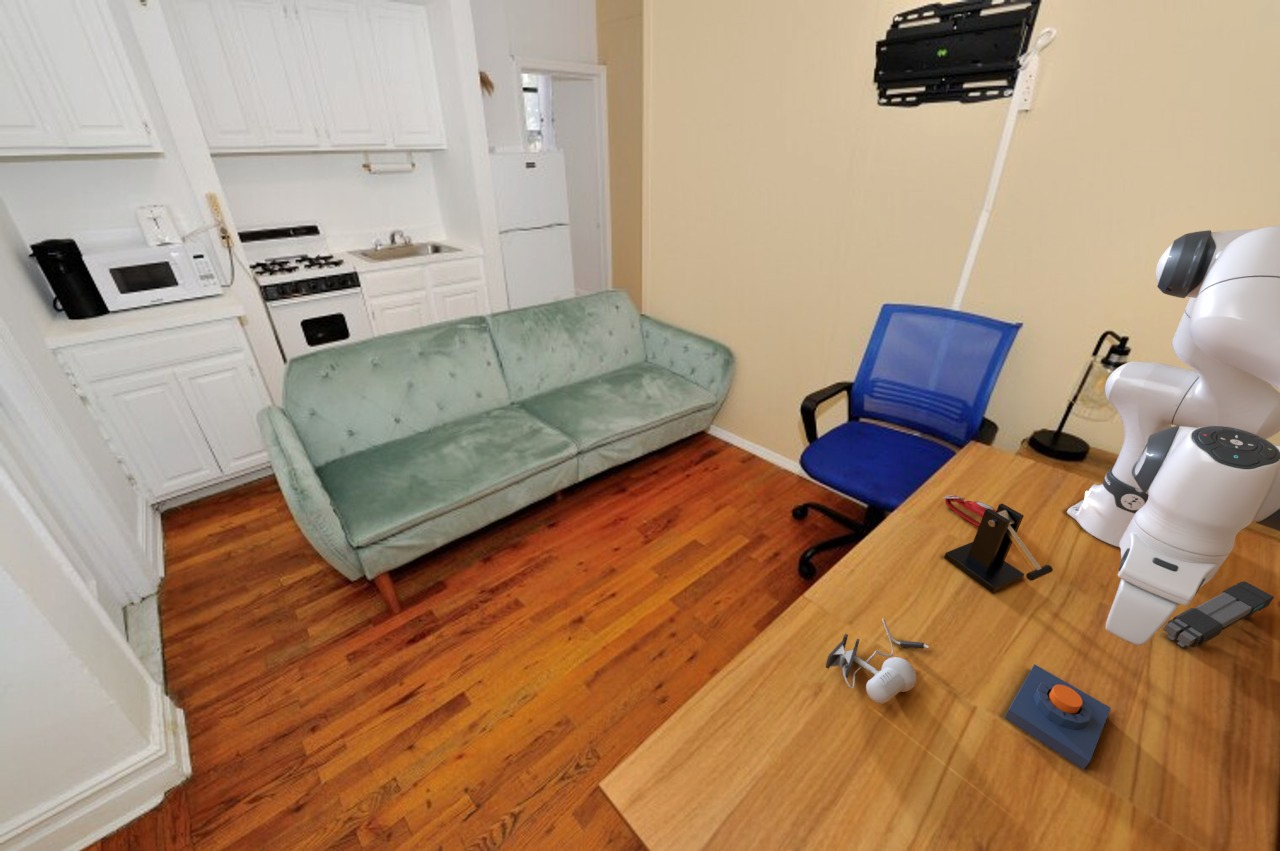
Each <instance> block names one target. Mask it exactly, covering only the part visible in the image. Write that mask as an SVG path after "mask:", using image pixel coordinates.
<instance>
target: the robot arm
mask: <svg viewBox="0 0 1280 851" xmlns="http://www.w3.org/2000/svg"><path fill="white" fill-rule="evenodd" d="M1155 279H1156V282H1157V286H1156V287H1157V288H1158V290H1159V291H1160V292H1161V293H1162V294H1165V295H1167V296H1171V297H1176V298H1180V299H1186V298H1189V300H1188V302H1187V304H1186V306H1185V309H1184V311H1183V314H1182V316H1181V319H1180V320H1179V323H1178V326H1177V329H1176V330H1175V333H1174V335H1173V338H1172V341H1171V343H1172V344H1171V345H1172V350H1173V352H1174V354H1175V355H1176V357H1177V358H1178V359H1179V360H1180V361H1181V362H1183V363H1184V364H1185V365H1187V366H1188V367H1190V368H1191V369H1188V368H1183V367H1180V366H1179V367H1178V366H1174V365H1169V364H1166V363H1161V362H1151V361H1150V362H1149V361H1136V360H1135V361H1133V360H1132V361H1129V362H1126V363H1124V364H1122V365H1120V366H1118V367H1117V368H1115V369H1114V370H1113V371H1112V372H1111V373H1110V374H1109V376H1108V377H1107V380H1106V381H1105V385H1104V394H1105V397H1106V399H1107V401H1108V403H1109V404H1111V406H1112V407H1113V408H1114V409H1115V410H1116V412H1117V413H1118V415H1119V418H1120V419H1121V420H1120V421H1121V422H1122V425H1123V430H1124V432H1123V433H1124V439H1123V442H1122V446H1121V449H1120V451H1119V454H1118V456H1117V459H1116V460H1115V463H1114V464H1113V467H1111V468H1110V469H1109V470H1108V471H1107V472H1106V474H1105V476H1104V478H1103V481H1102V483H1101V484H1097V483H1094V484H1092V485H1091V487H1089V489H1088V490H1086V491H1085V493H1084V499H1082V500H1080V501H1079V502H1077V503H1076V504H1074V505H1072V506H1070V507H1069V508H1068V509H1067V511H1066V513H1067V514H1068V515H1069V516H1070V517H1071V518H1073V519H1074V520H1075V521H1077V523H1078V524H1079V525H1080V527H1081V528H1082V529H1083V530H1084V531H1086V533H1088V534H1089V535H1091V536H1093V537H1095V538H1096V539H1098V540H1100V541H1102V542H1104V543H1106V544H1109V545H1111V546H1114V547H1118V548H1119V549H1120V565H1119V568H1118V572H1117V578H1119V579H1120V582H1119V584H1118V588H1117V591H1116V593H1115V596H1114V598H1113V602H1112V603H1111V607H1110V610H1109V612H1108V615H1107V618H1106V622H1105V625H1104V626H1105V631H1106V632H1108V633H1109V634H1111V635H1113V636H1114V637H1117V638H1118V639H1121V640H1122V641H1125V642H1126V643H1128V644H1131V645H1133V646H1136V647H1140V646H1143V645H1145V644H1146V643H1148V642H1149V641H1150V640H1151V639H1152V638H1153V637H1154V636H1155V634H1157V632H1158V631H1159V630H1160V629H1161V628H1162V626H1163V625H1165V623H1167V621H1169V619H1170V617H1172V615H1173V614H1174V613H1175V611H1177V609H1178V607H1179V606H1180V605H1181V606H1184V607H1187V606H1189V605H1190V604H1191V602H1193V600H1194V598H1195V597H1196V595H1197V594H1198V592H1199V591H1200V589H1201V588H1202V587H1204V586H1205V585H1206V584H1208V583H1209V582H1210V581H1212V579H1214V577H1215V576H1216V574H1217V573H1218V571H1219V570H1220V568H1221V567H1222V566H1223V564H1224V563H1225V561H1226V560H1227V558H1228V557H1229V555H1230V554H1231V553H1232V551H1233V549H1234V547H1235V542H1236V537H1237V535H1238V534H1239V533H1240V532H1241V531H1242V530H1244V529H1245V528H1247V527H1248V526H1249V525H1250V524H1252V522H1255V523H1256V524H1258V525H1261V526H1264V527H1267V528H1269V529H1272V530H1276V531H1278V532H1280V445H1275V444H1273V443H1272V442H1271V441H1269V438H1272V437H1273V436H1275V435H1277V434H1279V433H1280V392H1279V391H1280V225H1270V226H1265V227H1260V228H1252V229H1251V228H1250V229H1233V230H1221V231H1212V230H1210V229H1208V230H1199V231H1194V232H1188V233H1185V234H1183V235H1181V236H1180V237H1178V238H1175V239H1174V240H1173V242H1172V243H1171V244H1170V245H1169V246H1168V247H1167V248H1166V249H1165V250H1164V252H1163V253H1162V254H1161V256H1160V257H1159V259H1158V261H1157V264H1156V268H1155ZM1278 390H1279V391H1278ZM1267 439H1268V440H1267Z"/></svg>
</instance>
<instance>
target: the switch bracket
mask: <svg viewBox="0 0 1280 851" xmlns="http://www.w3.org/2000/svg"><path fill="white" fill-rule="evenodd" d="M1003 510H1006V511H1007V513H1008V514H1009V515H1010V517H1011V518H1012V520H1013V521H1014V523H1013V524H1010V525H1011V527H1012V528H1013V529H1014V531H1015V532H1016V534H1018V530H1019V528H1020V526H1021V524H1022V521H1023V519H1024V517H1025V515H1024V514H1022V513H1020V512H1019V511H1017V510H1015V509H1014V508H1011V507H1010V506H1008V505H1006V504H1004V503H999V504H998V506H997V508H996V512H994V511H993V510H991V509H989V508H988V509H986V510H985V512H984V515H983V517H981V520H980V522H979V523H980V525H979V526H978V528H977V529H976V533H975V536H974V539H973V541H972V542H968V543H966V544H964V545H962V546H959V547H956V548H954V549H952V550H949V551H947V552H945V554H944V556H943V558H944V559H945V560H947V561H948V562H949V563H950V564H952V565H953V566H954V567H955V568H957V569H959V570H960V571H961V572H962V573H964V574H965V575H967V576H968V577H970V578H971V579H973V580H974V581H975V582H977V583H978V584H979V585H981V586H982V587H983V588H985V589H986V590H988V591H989V592H991V593H992V594H993V593H996V592H998V591H1000V590H1002V589H1005V588H1006V587H1009V586H1012V585H1013V584H1016V583H1018V582H1020V581H1022V580H1023V579H1024V577H1025V576H1026V574H1025V573H1024V572H1022V571H1021V570H1020V569H1018V568H1017V567H1015V566H1014V565H1012V564H1011V563H1009V562H1007V561H1006V559H1007V556H1008V554H1009V552H1010V549H1011V547H1012V544H1013V542H1012V540H1011V539H1010V538H1009V536H1008V535H1007V533H1006V530H1007V528H1008V526H1009V523H1010V520H1008V519H1006V518H1004V517H1003V516H1001V515H999V514H998V512H1001V511H1003Z"/></svg>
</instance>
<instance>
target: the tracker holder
mask: <svg viewBox="0 0 1280 851" xmlns="http://www.w3.org/2000/svg"><path fill="white" fill-rule="evenodd" d="M942 499H944V502H945V504H946V506H947V507H948V508H949V509H950V510H952V511H953V512H954V513H956V514H957V515H958V516H960V517H962V518H963V519H965V520H966V521H967V522H969V523H971V524H972V525H974V526H977V527H979V525H980V522H979V521H977V520H975V519H974V518H973V517H971V516H969V515H968V514H966V513H965V512H964V511H962V510H960V509H958V507H956V506H955V505H954V504H953V503H957V505H959V506H961V507H963V508H965V509H966V510H968V511H969V512H972V513H974V514H975V515H977V516H979V517H980V518H982V517H983V515H984V512H985V510H986V509H988V508H989V509H991V510H993V511H994V512H996V511H997V509H995V508H994V507H992V506H991V505H989V504H986V503H984V502H981V501H972V500H966V498H965V497H961V496H958V495H952V494H951V495H946V496H943V497H942Z"/></svg>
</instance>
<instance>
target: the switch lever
mask: <svg viewBox="0 0 1280 851" xmlns="http://www.w3.org/2000/svg"><path fill="white" fill-rule="evenodd" d="M998 514H999V515H1001V516H1003V517H1004V518H1006V519H1008V520H1010V523H1009V526H1008V528H1007V530H1006V533H1007V535H1008V536H1009V538H1010V539H1011V540H1012V544H1014V546H1015V547H1016V549H1017V550H1018V551H1019V553H1020V555H1021V556H1022V557H1023V559H1024V560H1025V562H1026V563H1027V564H1028V566H1029V567H1030V569H1031V571H1029V572H1027V573H1026V574H1025V577H1026V579H1027V580H1029V581H1032V582H1034V581H1035V580H1038V579H1039V578H1042V577H1043V576H1046V575H1048V574H1050V573H1052V572H1053V571H1054V568H1053V566H1051V565H1050V564H1044V565H1042V566H1040V564H1039V563H1038V561H1037V560H1036V559H1035V557H1034V556H1033V554H1032V553H1031V551H1030V550H1029V548H1028V547H1027V546H1026V545H1025V543H1024V542H1023V540H1022V539H1021V538H1020V536H1019V535H1018V533H1016V532H1015V531H1014V529H1013V528H1012V527H1011V525H1010V524H1013V523H1014V521H1013V520H1012V518H1011V517H1010V515H1009V514H1008V513H1007V511H1006V510H1003V511H1001V512H998Z"/></svg>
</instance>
